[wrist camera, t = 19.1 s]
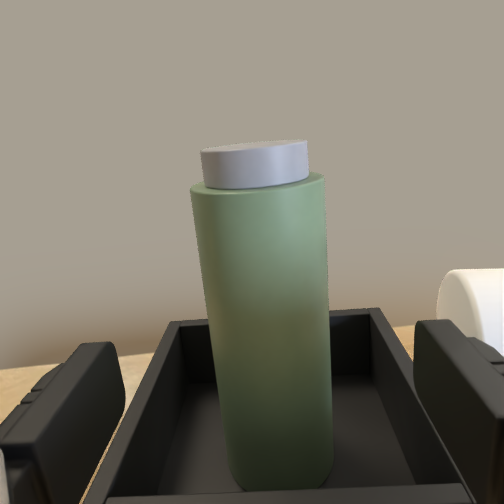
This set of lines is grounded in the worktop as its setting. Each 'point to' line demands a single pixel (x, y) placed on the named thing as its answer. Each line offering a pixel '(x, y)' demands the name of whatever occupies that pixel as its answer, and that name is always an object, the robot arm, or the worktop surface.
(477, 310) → the mug
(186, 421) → the bin
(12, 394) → the worktop surface
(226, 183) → the water bottle
